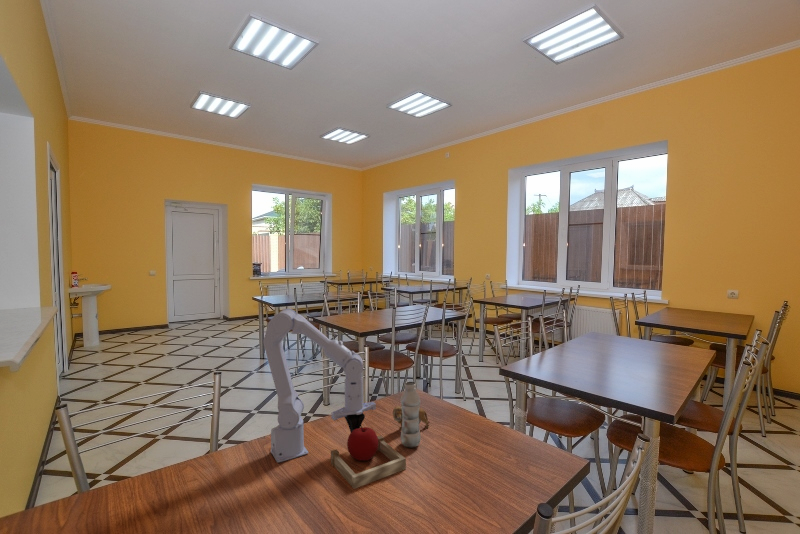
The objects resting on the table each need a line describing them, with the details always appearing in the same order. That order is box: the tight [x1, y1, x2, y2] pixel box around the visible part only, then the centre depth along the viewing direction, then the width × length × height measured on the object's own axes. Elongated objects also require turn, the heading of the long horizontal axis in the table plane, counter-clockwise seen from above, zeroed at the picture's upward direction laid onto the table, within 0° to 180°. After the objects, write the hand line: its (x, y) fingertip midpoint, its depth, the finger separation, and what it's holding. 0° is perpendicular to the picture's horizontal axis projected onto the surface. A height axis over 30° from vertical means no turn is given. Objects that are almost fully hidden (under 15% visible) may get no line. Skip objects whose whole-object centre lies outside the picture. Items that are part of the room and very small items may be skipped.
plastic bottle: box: [400, 380, 422, 448], centre depth 120 cm, size 6×7×20 cm
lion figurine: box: [392, 405, 431, 431], centre depth 132 cm, size 15×5×9 cm, turn 119°
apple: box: [346, 424, 378, 462], centre depth 114 cm, size 9×9×10 cm
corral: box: [330, 434, 407, 490], centre depth 109 cm, size 17×14×4 cm
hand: (354, 436), depth 118 cm, fingers closed, pressing on apple
